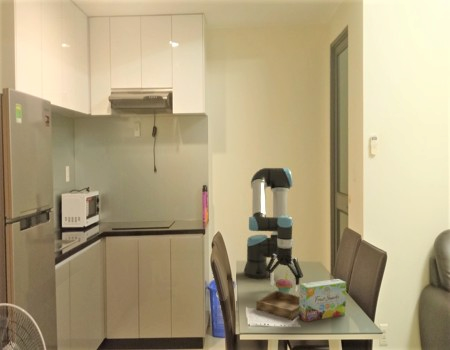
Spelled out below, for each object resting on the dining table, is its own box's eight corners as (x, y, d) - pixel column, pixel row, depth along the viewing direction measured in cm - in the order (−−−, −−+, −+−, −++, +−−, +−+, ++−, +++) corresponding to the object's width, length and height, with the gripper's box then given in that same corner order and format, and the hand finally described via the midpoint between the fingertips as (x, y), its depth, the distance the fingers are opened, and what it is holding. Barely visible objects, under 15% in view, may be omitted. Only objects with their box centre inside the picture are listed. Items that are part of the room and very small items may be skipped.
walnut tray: (256, 309, 171) (256, 301, 171) (276, 298, 185) (276, 290, 185) (292, 320, 160) (292, 310, 160) (310, 307, 174) (310, 299, 174)
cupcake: (295, 293, 193) (295, 270, 193) (285, 297, 187) (286, 273, 186) (281, 289, 199) (281, 266, 199) (271, 293, 193) (272, 270, 192)
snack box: (306, 322, 158) (306, 287, 157) (298, 317, 163) (299, 283, 162) (346, 315, 166) (346, 281, 166) (337, 310, 171) (338, 277, 171)
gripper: (259, 244, 197) (259, 284, 197) (303, 251, 182) (302, 295, 182) (267, 242, 203) (266, 281, 203) (310, 249, 188) (309, 291, 188)
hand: (283, 287), depth 193 cm, fingers open, 13 cm apart
